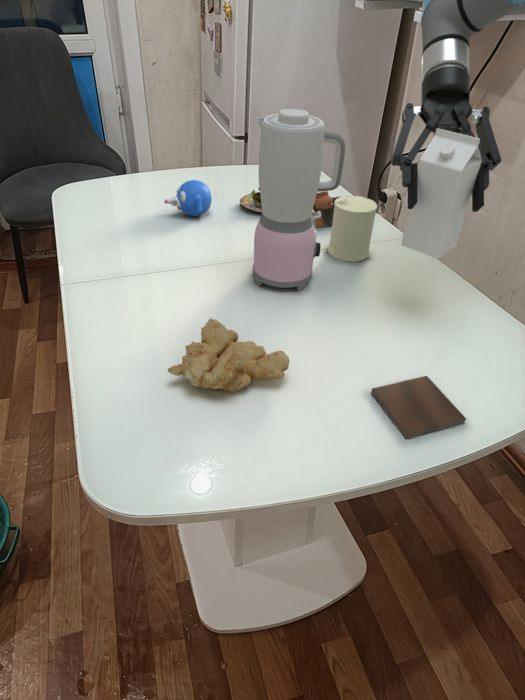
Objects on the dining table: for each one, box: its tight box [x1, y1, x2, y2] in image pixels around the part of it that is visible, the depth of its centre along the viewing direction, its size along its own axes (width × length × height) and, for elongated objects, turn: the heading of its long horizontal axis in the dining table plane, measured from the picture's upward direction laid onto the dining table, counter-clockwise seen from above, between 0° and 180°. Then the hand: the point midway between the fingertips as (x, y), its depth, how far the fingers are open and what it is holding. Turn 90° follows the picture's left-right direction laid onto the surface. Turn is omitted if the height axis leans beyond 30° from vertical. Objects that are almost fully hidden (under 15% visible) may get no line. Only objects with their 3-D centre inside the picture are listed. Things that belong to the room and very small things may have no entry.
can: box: [327, 195, 378, 263], centre depth 112 cm, size 9×9×12 cm
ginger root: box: [167, 318, 290, 393], centre depth 79 cm, size 16×16×8 cm
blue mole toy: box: [163, 179, 213, 217], centre depth 126 cm, size 12×12×8 cm
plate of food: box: [239, 186, 262, 213], centre depth 132 cm, size 12×12×8 cm
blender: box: [252, 108, 346, 291], centre depth 96 cm, size 16×12×32 cm
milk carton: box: [400, 128, 482, 260], centre depth 84 cm, size 7×7×19 cm
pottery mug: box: [312, 191, 340, 229], centre depth 128 cm, size 12×10×8 cm
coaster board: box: [370, 375, 467, 440], centre depth 77 cm, size 10×10×1 cm
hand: (445, 207), depth 82 cm, fingers closed on milk carton, 10 cm apart
